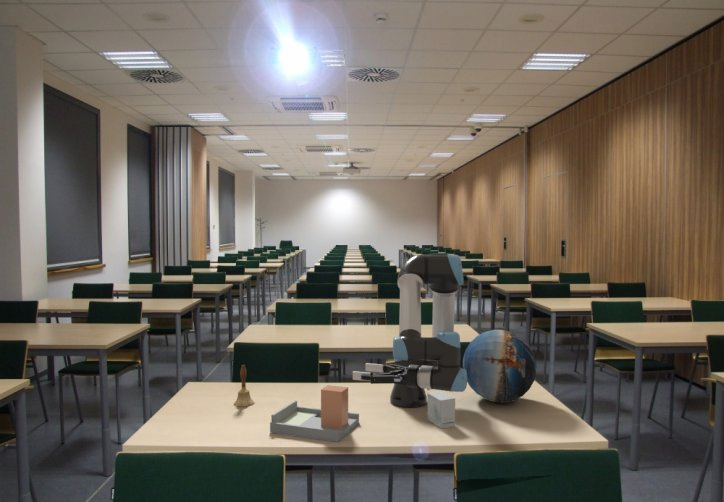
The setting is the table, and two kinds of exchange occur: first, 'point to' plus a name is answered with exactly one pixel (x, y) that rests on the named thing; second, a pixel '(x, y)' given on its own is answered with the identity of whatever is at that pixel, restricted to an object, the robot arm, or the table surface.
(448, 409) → the skincare box
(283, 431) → the tray
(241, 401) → the hand bell
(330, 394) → the terracotta brick
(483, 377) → the decorative globe
